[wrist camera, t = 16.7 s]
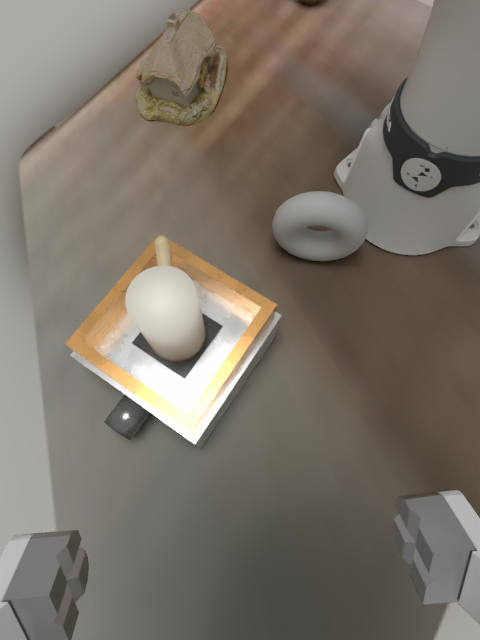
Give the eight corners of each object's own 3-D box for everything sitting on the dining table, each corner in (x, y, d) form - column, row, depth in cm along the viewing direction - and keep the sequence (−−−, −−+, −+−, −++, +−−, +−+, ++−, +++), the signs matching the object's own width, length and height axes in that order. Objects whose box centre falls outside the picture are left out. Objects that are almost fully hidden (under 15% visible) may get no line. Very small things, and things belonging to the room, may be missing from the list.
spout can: (207, 359, 37) (199, 327, 29) (150, 364, 36) (125, 334, 28) (201, 274, 40) (192, 224, 32) (147, 279, 39) (125, 230, 32)
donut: (354, 246, 48) (382, 191, 39) (352, 272, 47) (381, 222, 37) (271, 234, 49) (278, 176, 39) (266, 259, 47) (273, 206, 38)
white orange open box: (172, 271, 47) (158, 227, 38) (276, 335, 44) (285, 303, 36) (72, 394, 42) (31, 374, 33) (182, 475, 39) (167, 476, 31)
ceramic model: (198, 138, 54) (190, 68, 44) (124, 113, 55) (101, 40, 46) (240, 69, 58) (240, -9, 49) (170, 47, 60) (157, -32, 51)
